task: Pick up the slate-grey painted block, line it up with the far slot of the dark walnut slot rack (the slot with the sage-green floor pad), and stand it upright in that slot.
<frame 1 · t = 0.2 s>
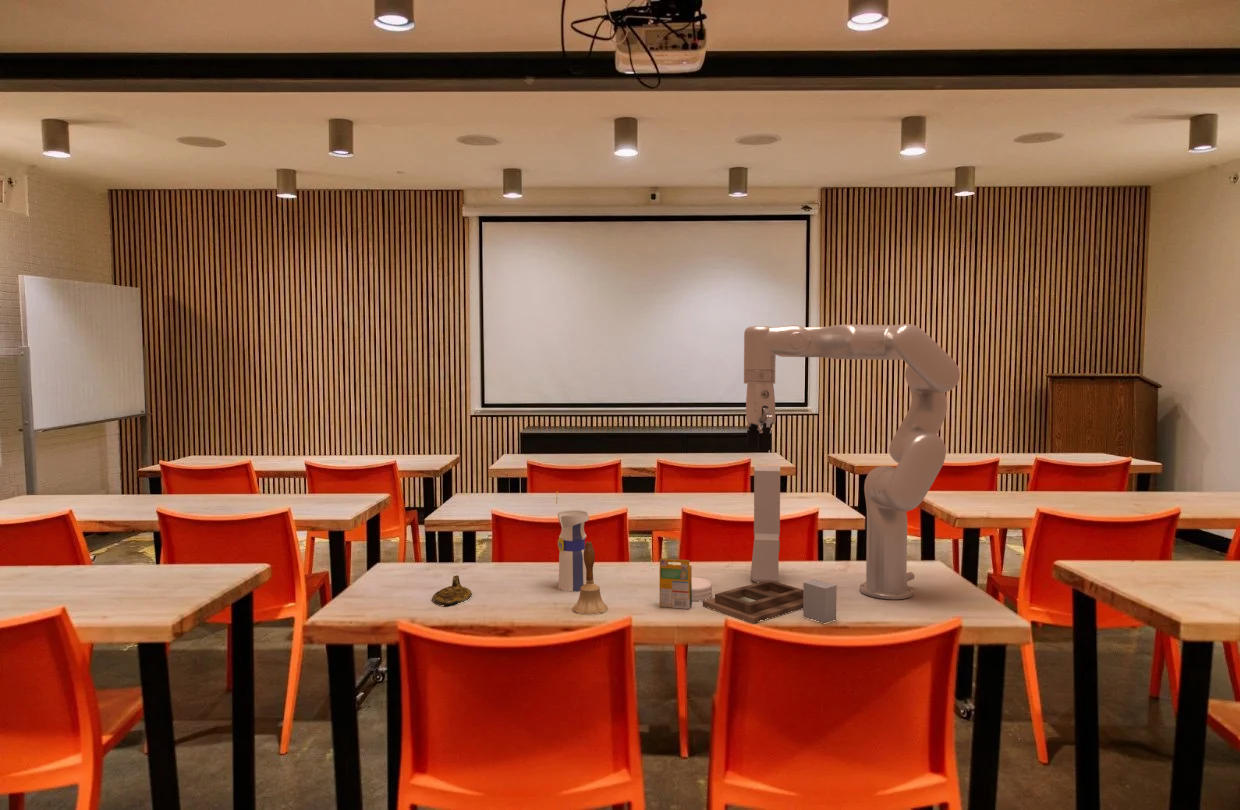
hand: (758, 447, 191), 37 cm above the table, tool pointing down, fingers open, 9 cm apart
grey block: (819, 619, 176), on the table
water bottle: (573, 588, 201), on the table
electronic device: (765, 578, 210), on the table
crayon box: (675, 607, 186), on the table
hand bell: (590, 610, 184), on the table
seal: (452, 599, 193), on the table
slot rack: (759, 605, 186), on the table
white round stack: (691, 597, 194), on the table
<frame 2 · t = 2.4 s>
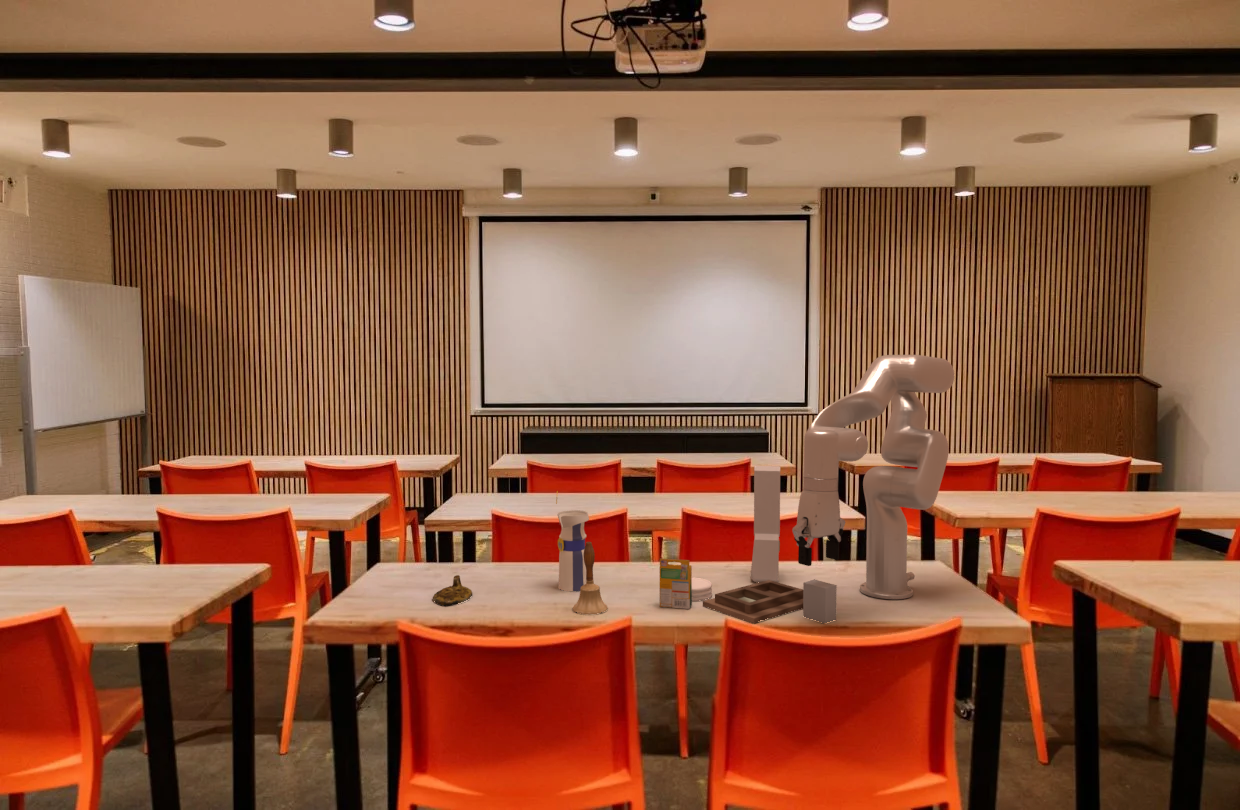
hand: (818, 561, 175), 13 cm above the table, tool pointing down, fingers open, 9 cm apart
nothing on the table moved.
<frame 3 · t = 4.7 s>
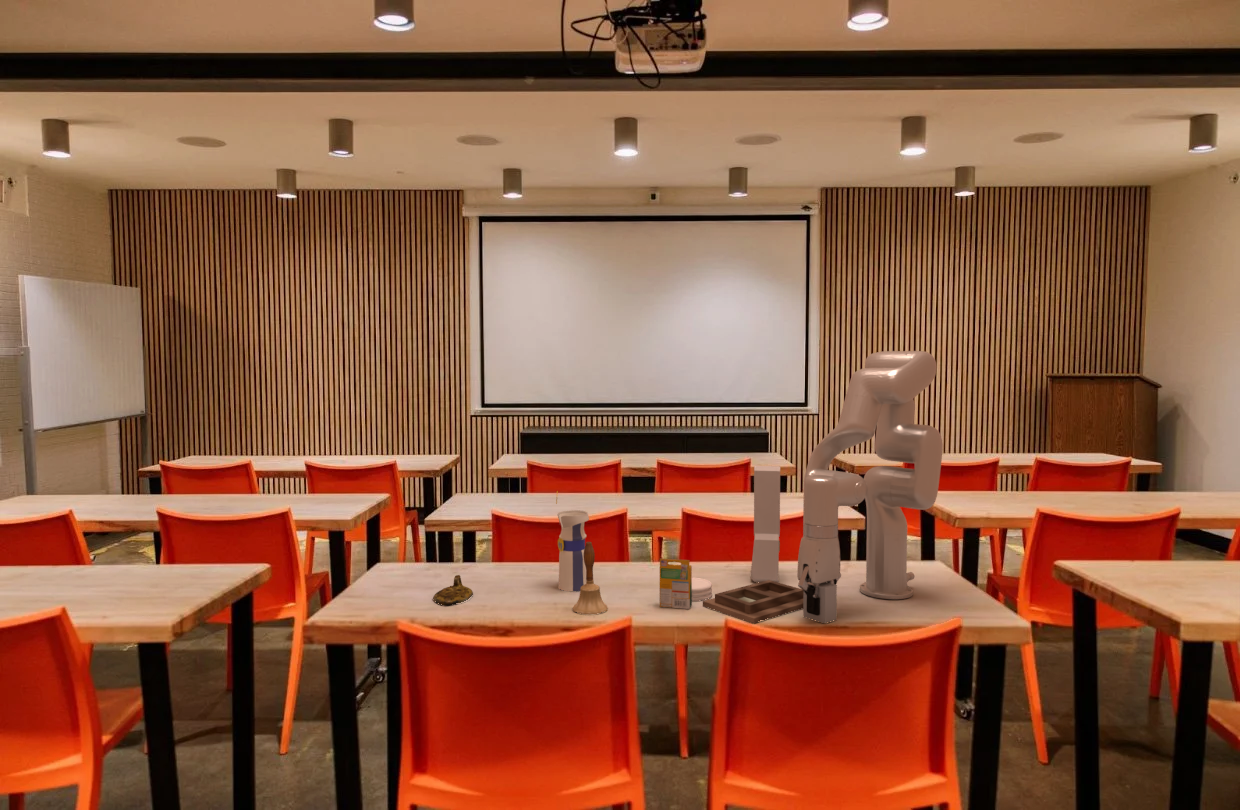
hand: (819, 610, 176), 2 cm above the table, tool pointing down, fingers closed on grey block, 4 cm apart
grey block: (819, 618, 176), on the table, touching gripper
everything else where it was.
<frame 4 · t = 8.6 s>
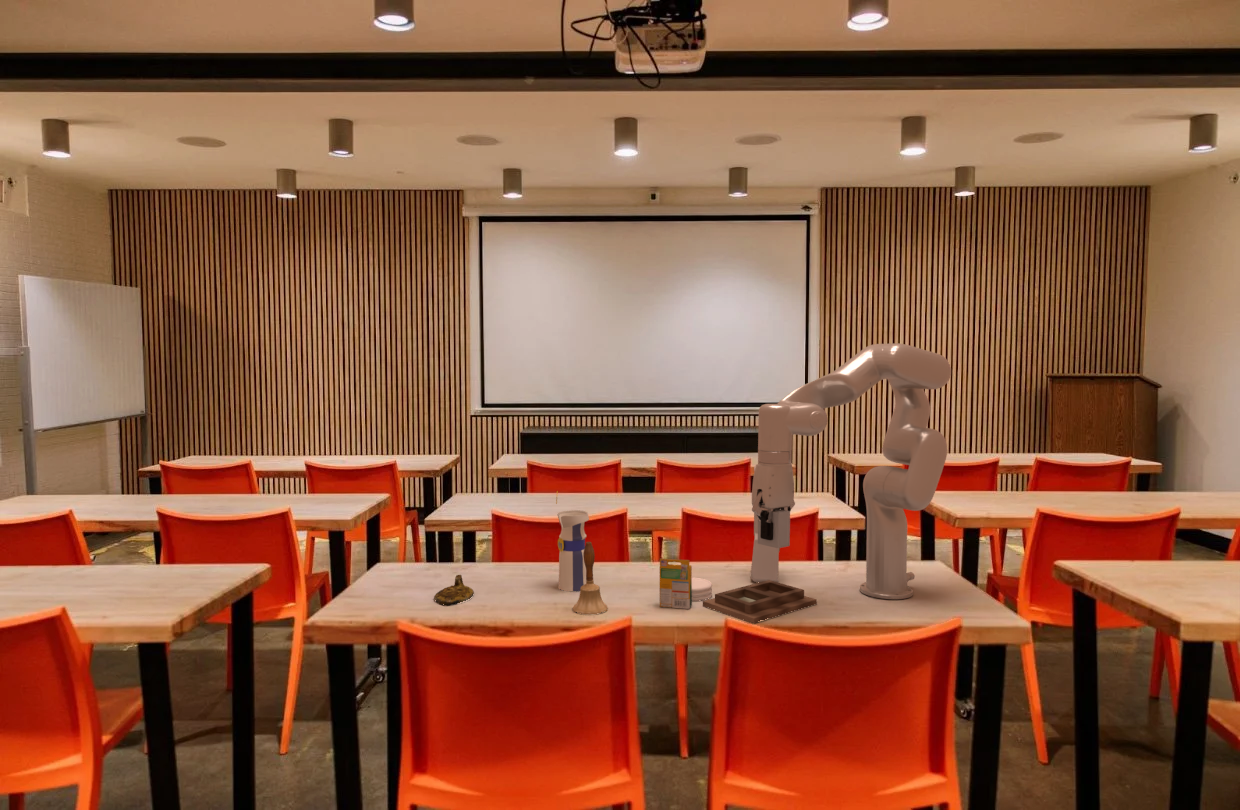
hand: (773, 537, 179), 18 cm above the table, tool pointing down, fingers closed on grey block, 4 cm apart
grey block: (773, 544, 179), point 16 cm above the table, touching gripper
everything else where it was.
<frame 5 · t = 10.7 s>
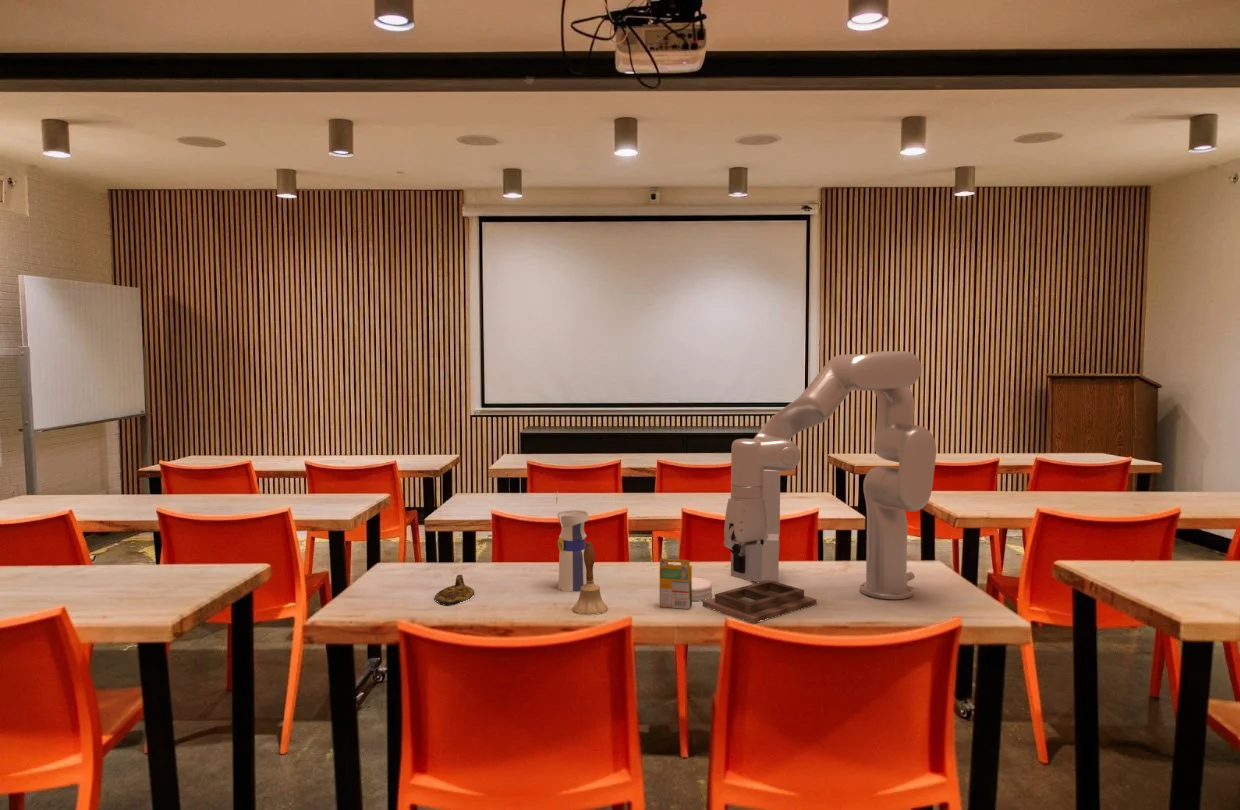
hand: (746, 569, 183), 9 cm above the table, tool pointing down, fingers closed on grey block, 4 cm apart
grey block: (746, 577, 183), point 8 cm above the table, touching gripper
everything else where it was.
when the fingers open (4 cm above the table, at t = 12.4 s): grey block stays where it is, resting on slot rack.
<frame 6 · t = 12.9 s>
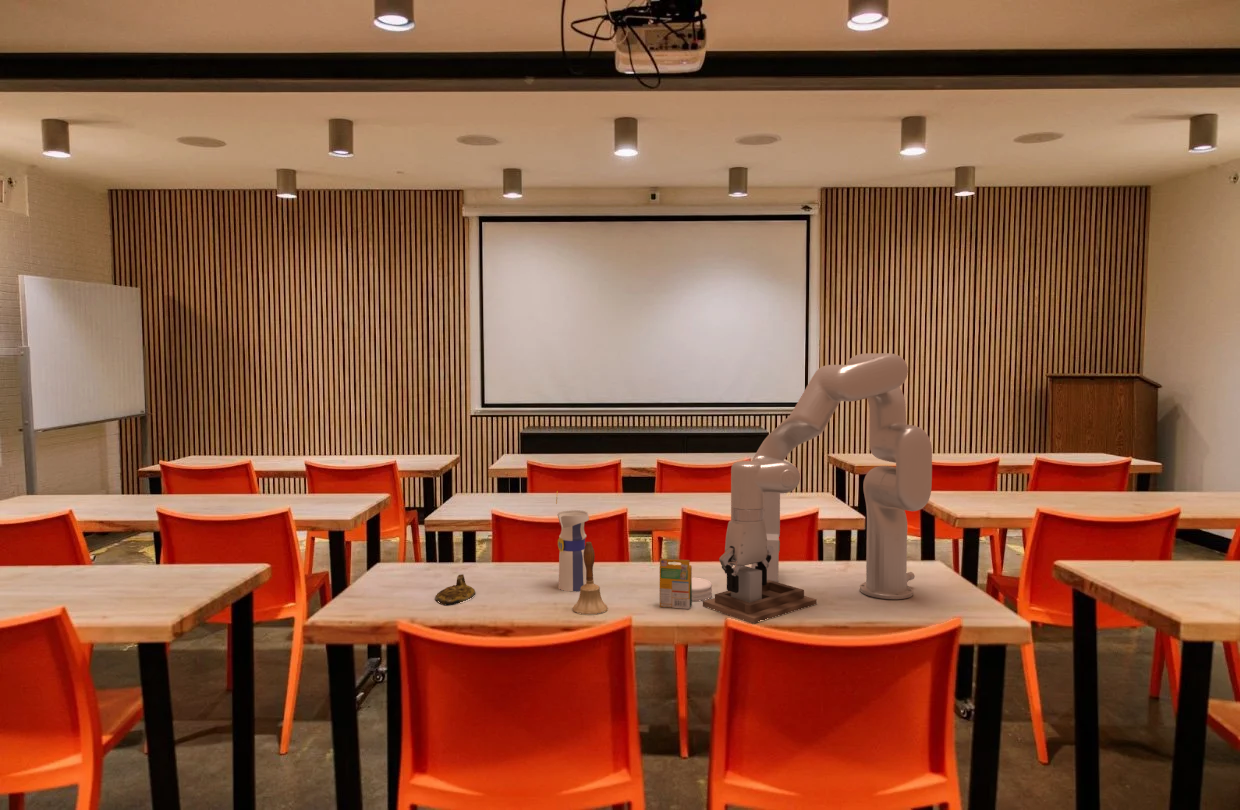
hand: (746, 587, 183), 5 cm above the table, tool pointing down, fingers open, 9 cm apart
grey block: (746, 603, 183), point 1 cm above the table, touching slot rack
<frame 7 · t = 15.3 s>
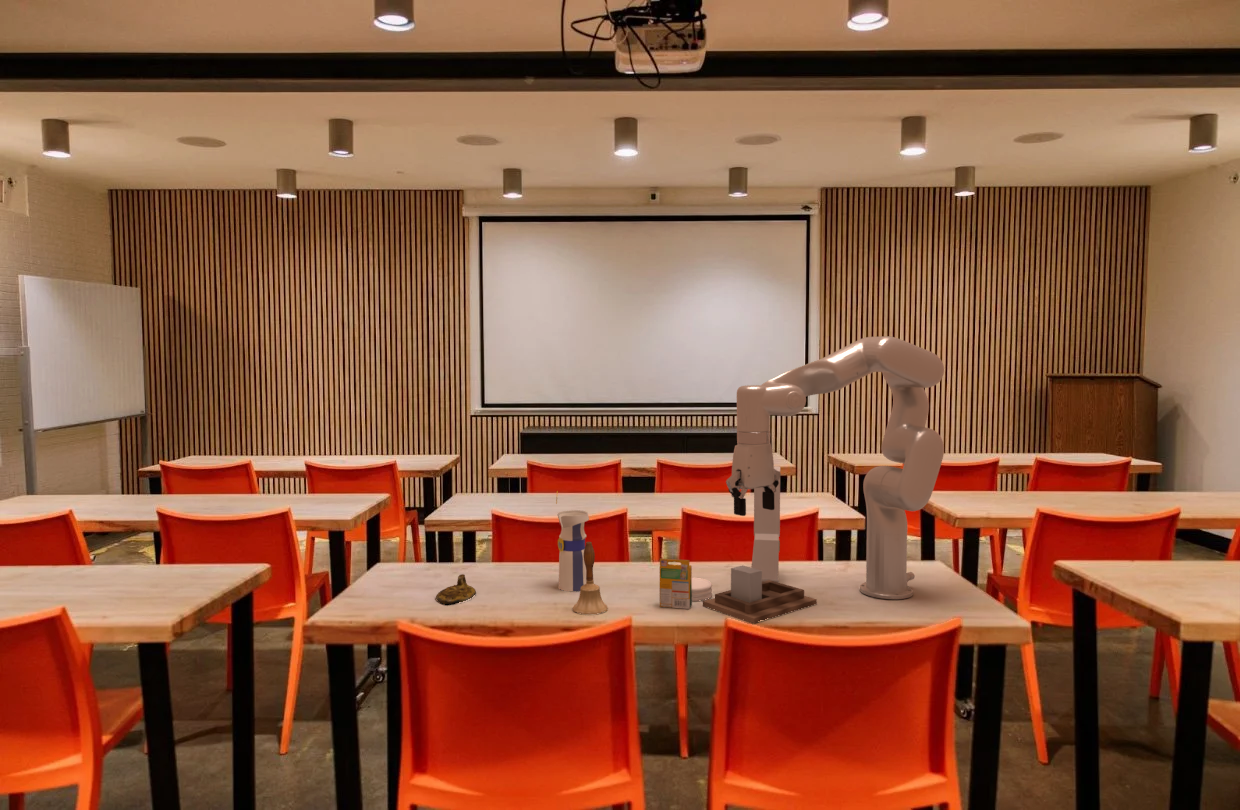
hand: (754, 512, 182), 23 cm above the table, tool pointing down, fingers open, 9 cm apart
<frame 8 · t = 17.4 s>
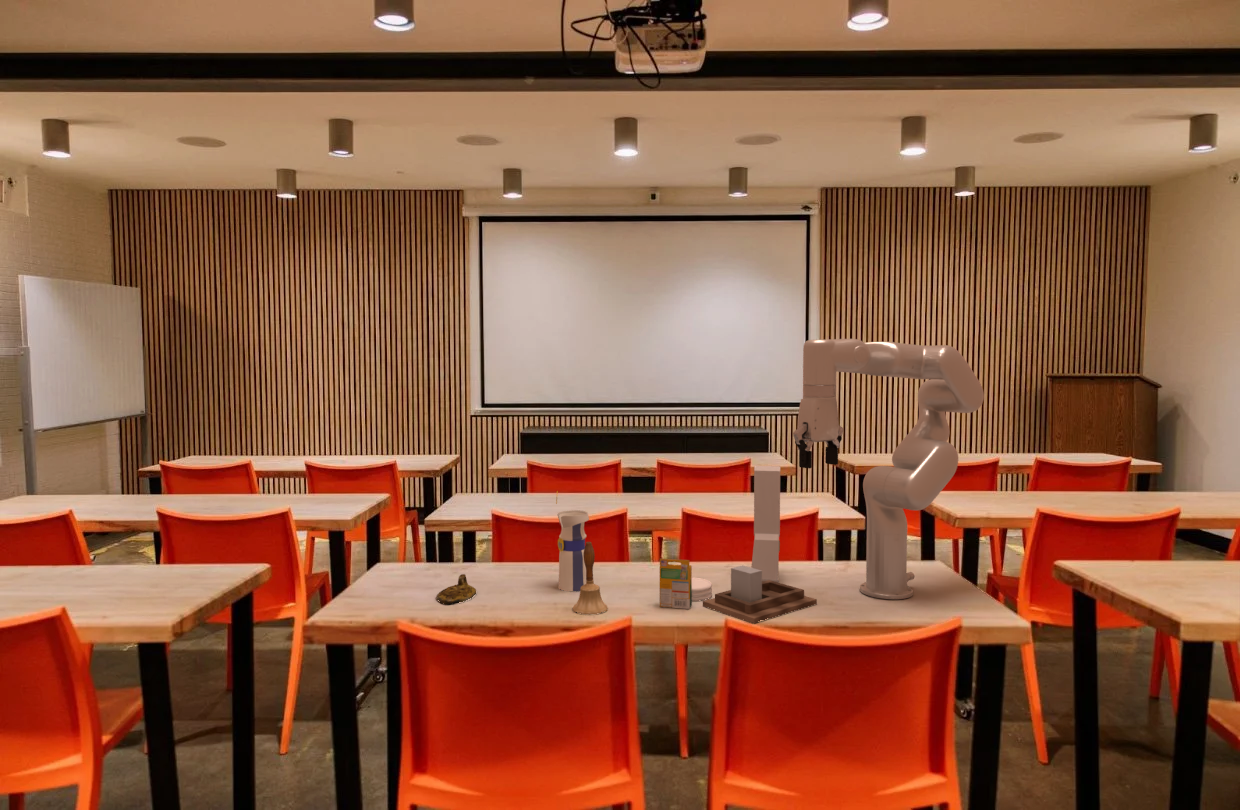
hand: (818, 465, 183), 33 cm above the table, tool pointing down, fingers open, 9 cm apart
at the end: grey block 0.3 cm from the target spot on the slot rack, point 1.3 cm above the slot rack's base; grey block tilted 0°; the gripper is holding nothing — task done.
